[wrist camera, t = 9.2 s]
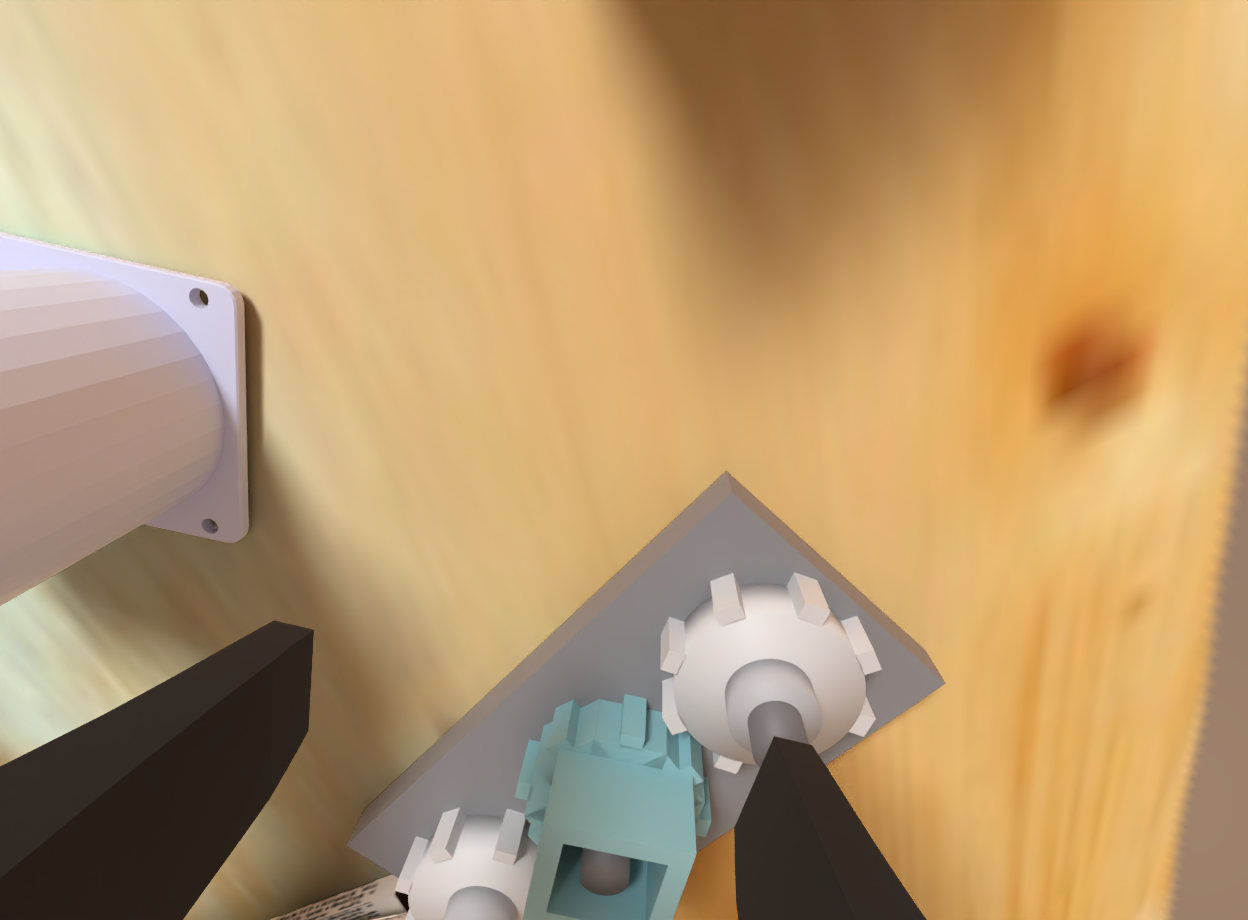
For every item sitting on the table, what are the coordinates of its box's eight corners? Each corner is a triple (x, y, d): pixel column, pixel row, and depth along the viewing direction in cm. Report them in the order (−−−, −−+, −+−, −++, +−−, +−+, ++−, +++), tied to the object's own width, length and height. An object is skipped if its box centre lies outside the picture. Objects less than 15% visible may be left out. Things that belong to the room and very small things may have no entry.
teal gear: (515, 811, 21) (482, 936, 17) (541, 676, 19) (511, 786, 15) (683, 846, 21) (687, 978, 17) (729, 716, 19) (745, 835, 15)
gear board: (541, 922, 25) (514, 1078, 21) (364, 808, 24) (291, 951, 19) (925, 650, 19) (1007, 784, 15) (726, 471, 18) (748, 559, 13)
